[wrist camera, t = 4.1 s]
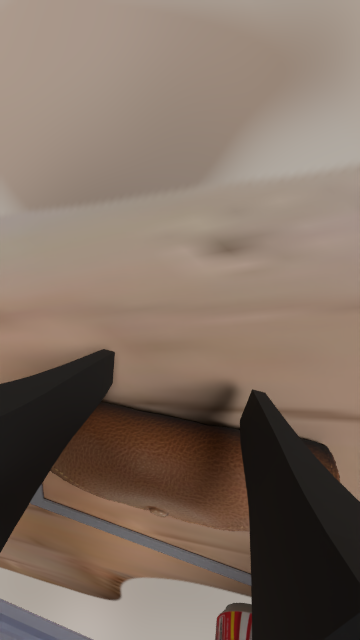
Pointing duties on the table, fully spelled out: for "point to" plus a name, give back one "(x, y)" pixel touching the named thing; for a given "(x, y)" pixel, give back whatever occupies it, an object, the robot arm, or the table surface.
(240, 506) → the sunglasses case
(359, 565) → the robot arm
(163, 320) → the table surface
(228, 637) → the soda can
